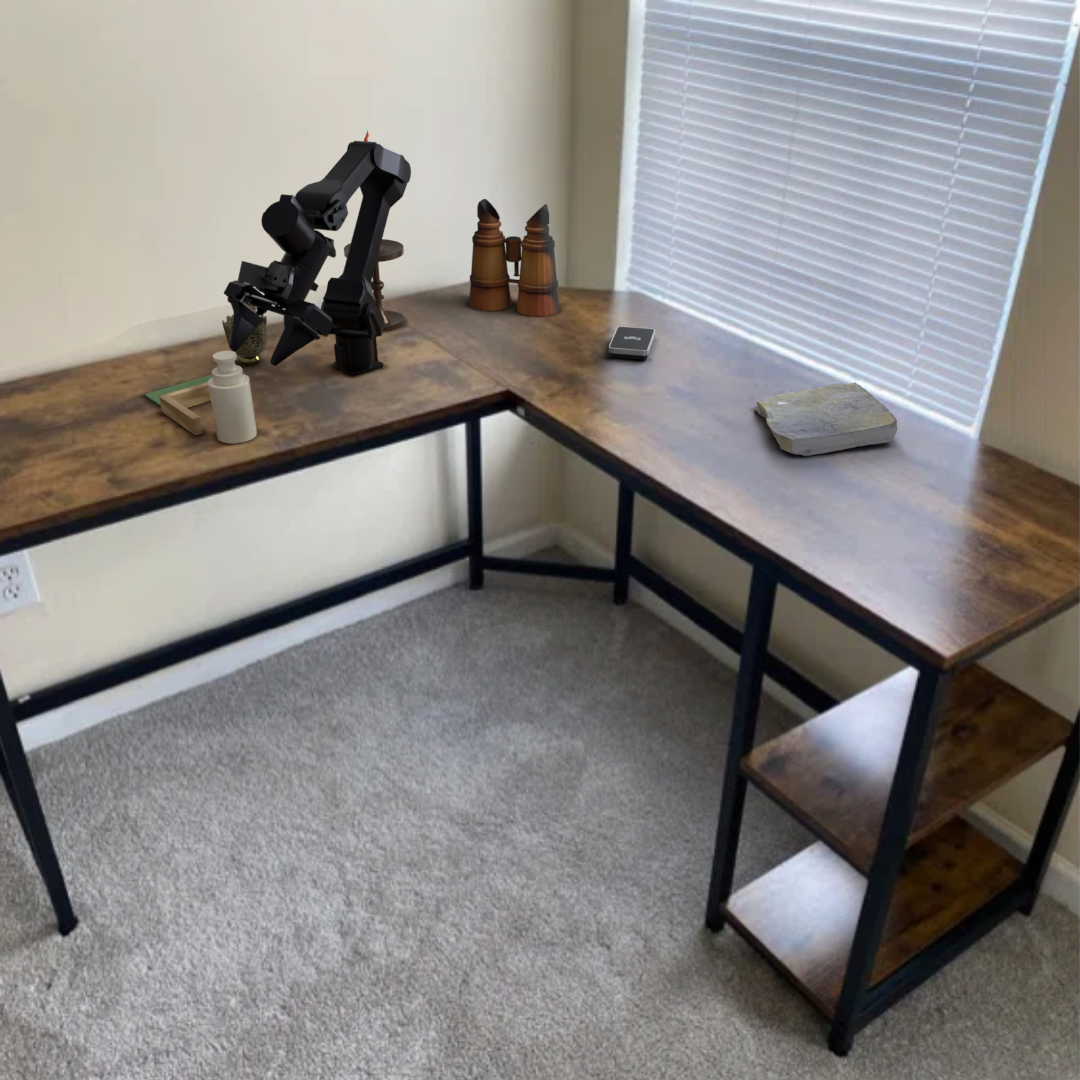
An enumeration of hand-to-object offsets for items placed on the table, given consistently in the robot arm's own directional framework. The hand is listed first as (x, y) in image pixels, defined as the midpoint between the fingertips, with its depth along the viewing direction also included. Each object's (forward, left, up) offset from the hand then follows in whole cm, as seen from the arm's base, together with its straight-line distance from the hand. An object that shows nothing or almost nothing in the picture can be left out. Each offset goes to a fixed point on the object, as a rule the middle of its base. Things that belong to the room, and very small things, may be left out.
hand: (252, 357), depth 168 cm
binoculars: (-64, -14, -11) cm, 67 cm away
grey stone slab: (-63, +59, -11) cm, 87 cm away
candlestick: (-39, -24, -11) cm, 47 cm away
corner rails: (+3, -9, -11) cm, 15 cm away
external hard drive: (-65, +17, -11) cm, 68 cm away
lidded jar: (+5, +1, -11) cm, 12 cm away
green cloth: (+3, -19, -11) cm, 22 cm away
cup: (-11, -23, -11) cm, 28 cm away
